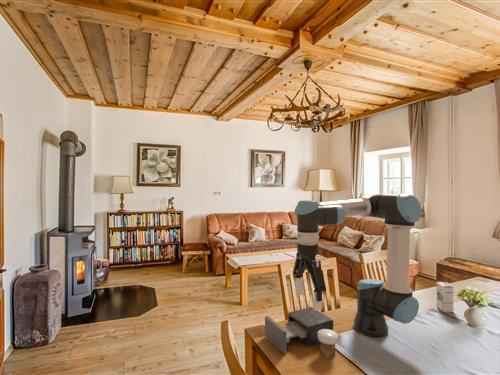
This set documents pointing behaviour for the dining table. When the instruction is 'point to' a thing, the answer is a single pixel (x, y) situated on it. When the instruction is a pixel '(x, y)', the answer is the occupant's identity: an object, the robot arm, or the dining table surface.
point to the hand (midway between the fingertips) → (308, 302)
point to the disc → (327, 336)
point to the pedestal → (328, 349)
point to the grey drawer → (283, 333)
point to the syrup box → (445, 297)
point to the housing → (311, 324)
